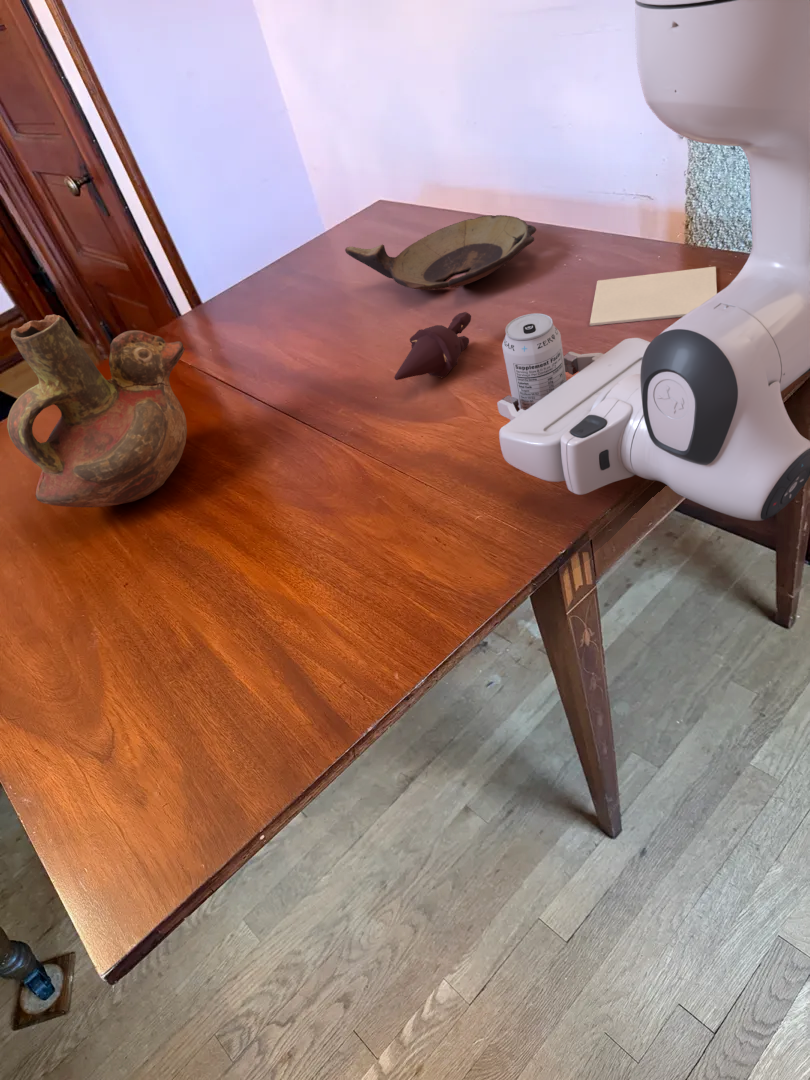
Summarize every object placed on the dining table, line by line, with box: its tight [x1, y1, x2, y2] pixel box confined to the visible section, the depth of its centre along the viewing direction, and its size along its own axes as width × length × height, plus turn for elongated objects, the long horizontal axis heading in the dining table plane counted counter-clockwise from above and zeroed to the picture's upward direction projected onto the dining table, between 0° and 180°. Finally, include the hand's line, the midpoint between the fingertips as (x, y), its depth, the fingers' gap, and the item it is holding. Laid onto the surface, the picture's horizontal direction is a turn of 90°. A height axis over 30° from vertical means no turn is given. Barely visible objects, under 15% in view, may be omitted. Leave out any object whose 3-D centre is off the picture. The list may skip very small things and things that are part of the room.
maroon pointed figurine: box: [393, 311, 472, 381], centre depth 101 cm, size 7×7×15 cm
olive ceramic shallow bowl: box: [344, 214, 537, 290], centre depth 122 cm, size 22×30×8 cm
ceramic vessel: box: [6, 314, 188, 508], centre depth 94 cm, size 17×26×25 cm, turn 132°
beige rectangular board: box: [589, 266, 718, 327], centre depth 102 cm, size 16×12×1 cm
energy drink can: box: [501, 312, 567, 410], centre depth 81 cm, size 6×6×15 cm
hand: (534, 382), depth 81 cm, fingers open, 8 cm apart
